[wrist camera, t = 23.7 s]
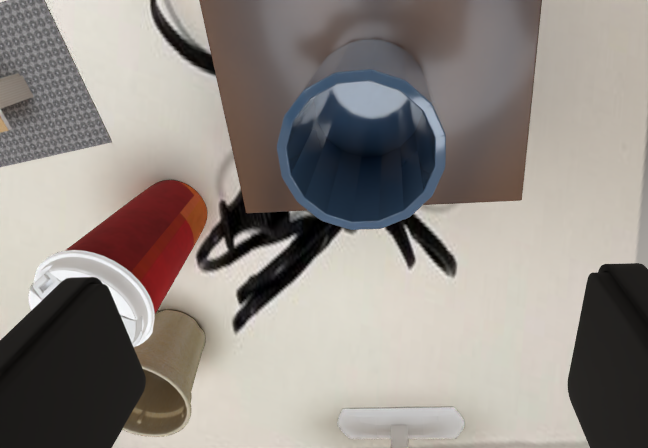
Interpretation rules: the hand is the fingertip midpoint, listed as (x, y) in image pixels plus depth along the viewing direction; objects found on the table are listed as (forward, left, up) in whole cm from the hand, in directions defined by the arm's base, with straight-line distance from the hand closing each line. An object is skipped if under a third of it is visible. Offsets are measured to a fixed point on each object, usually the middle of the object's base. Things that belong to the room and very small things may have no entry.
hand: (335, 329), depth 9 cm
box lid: (0, 0, -18) cm, 18 cm away
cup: (0, 0, -18) cm, 18 cm away
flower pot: (+21, +24, -26) cm, 42 cm away
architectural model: (+29, -1, -26) cm, 40 cm away
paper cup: (+17, +10, -26) cm, 33 cm away
